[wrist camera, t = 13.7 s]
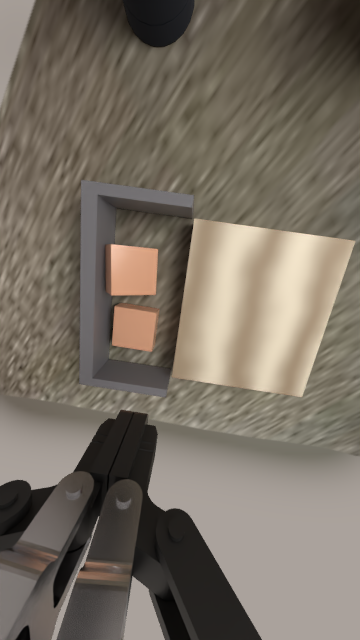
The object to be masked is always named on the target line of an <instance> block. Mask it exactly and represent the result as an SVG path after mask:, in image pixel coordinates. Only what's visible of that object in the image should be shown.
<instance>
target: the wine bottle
mask: <svg viewBox="0 0 360 640" xmlns="http://www.w3.org/2000/svg"><path fill="white" fill-rule="evenodd" d="M123 3H124V7H125V11H126V14H127V18H128V22H129V24H130V26H131V27H132V29H133V31H134V33H135V34H136V35H137V36H138V37H139V38H140V39H141V40H142V41H143V42H144V43H147V44H149V45H152V46H166V45H168V44H171V43H173V42H175V41H176V40H177V39H178V38H179V37H180V36H181V35H182V34H183V33H184V31H185V30H186V28H187V26H188V24H189V22H190V20H191V16H192V13H193V9H194V0H123Z"/></svg>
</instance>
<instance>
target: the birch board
mask: <svg viewBox="0 0 360 640" xmlns="http://www.w3.org/2000/svg"><path fill="white" fill-rule="evenodd" d="M354 244H355V241H352V240H344V239H337V238H330V237H323V236H316V235H309V234H301V233H294V232H287V231H280V230H273V229H266V228H259V227H251V226H244V225H237V224H230V223H223V222H216V221H208V220H201V219H194V225H193V232H192V239H191V246H190V253H189V260H188V267H187V274H186V281H185V288H184V295H183V302H182V309H181V316H180V323H179V330H178V337H177V344H176V351H175V358H174V365H173V372H172V377H173V378H180V379H186V380H193V381H199V382H206V383H212V384H219V385H226V386H232V387H239V388H245V389H252V390H258V391H265V392H271V393H278V394H284V395H291V396H297V397H302V395H303V393H304V390H305V387H306V384H307V381H308V378H309V375H310V372H311V369H312V366H313V363H314V360H315V357H316V355H317V352H318V349H319V346H320V343H321V340H322V337H323V334H324V331H325V328H326V325H327V322H328V319H329V317H330V314H331V311H332V308H333V305H334V302H335V299H336V296H337V293H338V290H339V287H340V284H341V282H342V279H343V276H344V273H345V270H346V267H347V264H348V261H349V258H350V255H351V252H352V249H353V246H354Z"/></svg>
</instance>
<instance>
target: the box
mask: <svg viewBox="0 0 360 640" xmlns="http://www.w3.org/2000/svg"><path fill="white" fill-rule="evenodd" d="M116 208H120V209H127V210H134V211H141V212H148V213H155V214H163V215H170V216H177V217H184V218H191V219H192V217H193V210H194V195H188V194H181V193H173V192H166V191H159V190H151V189H144V188H137V187H130V186H122V185H115V184H108V183H101V182H93V181H86V180H81V262H80V374H79V384H83V385H89V386H96V387H102V388H108V389H115V390H121V391H128V392H134V393H141V394H147V395H154V396H160V397H166V394H167V389H168V384H169V379H170V373H171V369H170V368H164V367H157V366H150V365H144V364H137V363H131V362H124V361H118V360H111V359H109V345H110V325H111V305H112V295H110V294H109V293H107V292H106V272H105V245H106V244H114V245H115V226H116Z"/></svg>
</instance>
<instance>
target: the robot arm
mask: <svg viewBox="0 0 360 640" xmlns="http://www.w3.org/2000/svg"><path fill="white" fill-rule="evenodd" d="M147 423H148V414H145V413H138V412H132V411H126V410H120V412H119V414H118V416H117V418H116V419H108V420H106V421H105V422H104V423H103V424H101V426H100V427H99V429H98V431H97V432H96V435H95V436H94V437H93V439H92V442H91V443H90V445H89V446H88V448H87V450H86V451H85V453H84V455H83V457H82V458H81V460H80V462H79V463H78V465H77V467H76V469H75V470H74V472H73V473H71V474H69V475H67V476H66V477H64V478H63V479H62V480H61V481H60V482H59V483H58V485H55V486H52V487H48V488H42V489H36V490H31V487H30V485H29V483H27V482H26V481H23V480H15V481H11V482H8V483H6V484H4V485H2V486H0V640H51V639H52V635H53V632H54V629H55V625H56V621H57V618H58V615H59V612H60V610H61V607H62V605H63V603H64V600H65V598H66V596H67V593H68V591H69V589H70V587H71V584H72V582H73V580H74V577H75V575H76V573H77V571H78V568H79V566H80V564H81V562H82V559H83V557H84V555H85V552H86V550H87V548H88V546H89V543H90V541H91V538H92V532H93V529H94V526H95V524H96V521H97V518H98V516H100V517H99V520H98V524H97V527H96V530H95V533H94V536H93V539H92V543H91V546H90V549H89V552H88V555H87V559H86V562H85V564H84V566H83V567H82V568H81V569H80V571H79V574H78V576H77V579H76V581H75V585H74V587H73V590H72V593H71V597H70V600H69V603H68V606H67V609H66V612H65V615H64V618H63V621H62V625H61V628H60V631H59V634H58V637H57V640H123V638H124V630H125V623H126V616H127V609H128V603H129V596H130V589H131V582H132V576H133V577H135V578H136V579H137V580H138V581H140V582H141V583H142V584H143V585H145V586H146V587H147V588H148V589H149V593H150V597H151V600H152V603H153V606H154V608H155V612H156V614H157V617H158V620H159V623H160V626H161V629H162V632H163V635H164V638H165V640H262V639H261V637H260V636H259V634H258V632H257V630H256V629H255V627H254V625H253V624H252V622H251V620H250V618H249V617H248V615H247V613H246V612H245V610H244V608H243V606H242V605H241V603H240V601H239V600H238V598H237V596H236V594H235V593H234V591H233V589H232V588H231V586H230V584H229V582H228V581H227V579H226V577H225V575H224V574H223V572H222V570H221V568H220V567H219V565H218V563H217V562H216V560H215V558H214V556H213V555H212V553H211V551H210V550H209V548H208V546H207V545H206V543H205V541H204V539H203V538H202V536H201V534H200V533H199V531H198V529H197V527H196V526H195V524H194V522H193V520H192V519H191V518H190V516H189V515H188V514H187V513H186V512H184V511H183V510H180V509H169V510H168V511H166V512H165V511H164V510H162V509H160V508H159V507H157V506H156V505H155V504H154V503H153V502H152V501H151V500H150V498H149V496H148V493H147V491H148V486H149V482H150V477H151V472H152V467H153V462H154V457H155V450H156V443H157V435H158V434H157V430H156V427H155V426H152V425H147Z"/></svg>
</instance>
